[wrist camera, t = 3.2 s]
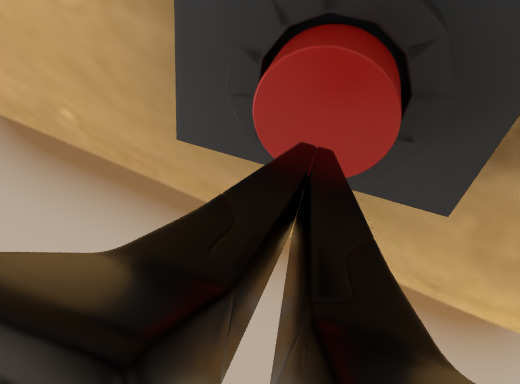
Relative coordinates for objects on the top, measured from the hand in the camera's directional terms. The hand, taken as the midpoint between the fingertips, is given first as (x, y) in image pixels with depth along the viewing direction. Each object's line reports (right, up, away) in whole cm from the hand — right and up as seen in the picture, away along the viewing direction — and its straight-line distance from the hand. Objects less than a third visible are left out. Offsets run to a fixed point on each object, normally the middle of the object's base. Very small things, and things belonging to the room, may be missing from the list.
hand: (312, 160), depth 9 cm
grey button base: (+2, +5, +6) cm, 8 cm away
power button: (+1, +3, +3) cm, 4 cm away
